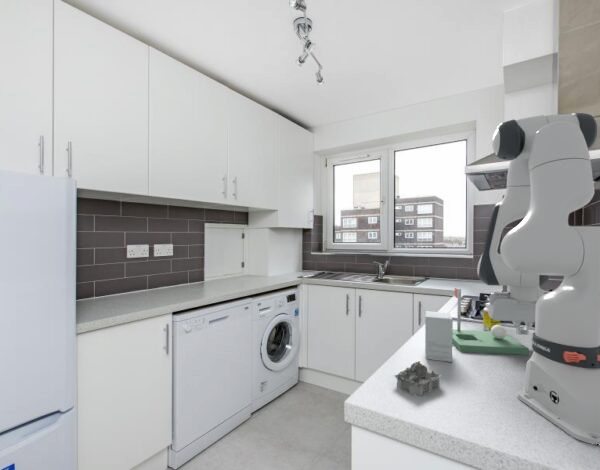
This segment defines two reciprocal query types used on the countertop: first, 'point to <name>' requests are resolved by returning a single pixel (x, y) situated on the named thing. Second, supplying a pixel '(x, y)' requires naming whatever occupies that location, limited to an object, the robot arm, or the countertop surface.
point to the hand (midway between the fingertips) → (522, 334)
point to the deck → (483, 339)
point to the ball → (498, 332)
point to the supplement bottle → (488, 319)
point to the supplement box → (438, 336)
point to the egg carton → (417, 379)
